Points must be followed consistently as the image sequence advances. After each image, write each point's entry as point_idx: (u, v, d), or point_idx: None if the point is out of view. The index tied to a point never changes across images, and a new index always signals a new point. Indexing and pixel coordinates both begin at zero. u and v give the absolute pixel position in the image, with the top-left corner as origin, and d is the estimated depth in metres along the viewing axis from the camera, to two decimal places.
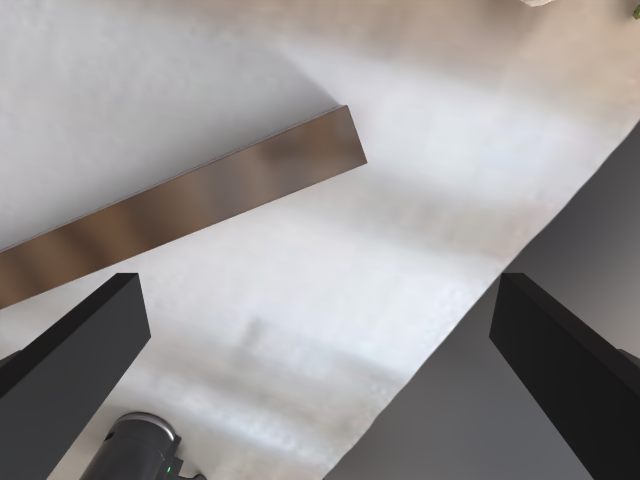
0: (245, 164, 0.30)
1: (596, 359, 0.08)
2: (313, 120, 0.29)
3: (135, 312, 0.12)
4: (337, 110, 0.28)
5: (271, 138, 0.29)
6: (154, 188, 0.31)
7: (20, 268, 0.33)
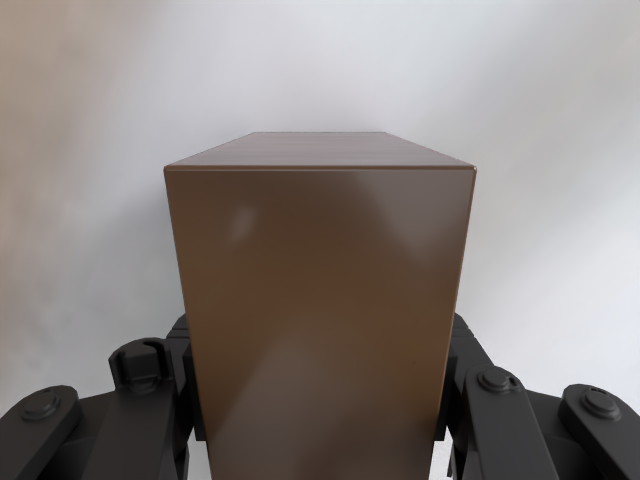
0: None
1: None
2: (191, 326, 0.07)
3: None
4: (175, 220, 0.06)
5: (213, 469, 0.08)
6: None
7: None
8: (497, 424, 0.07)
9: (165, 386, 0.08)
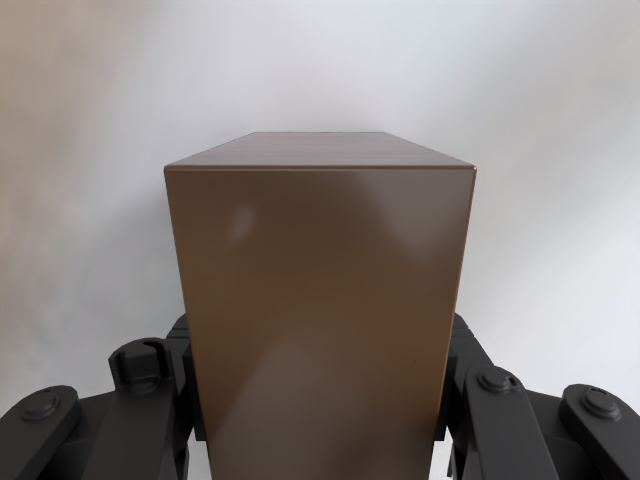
0: None
1: None
2: (191, 326, 0.07)
3: None
4: (175, 219, 0.06)
5: (213, 469, 0.08)
6: None
7: None
8: (497, 424, 0.07)
9: (165, 386, 0.08)
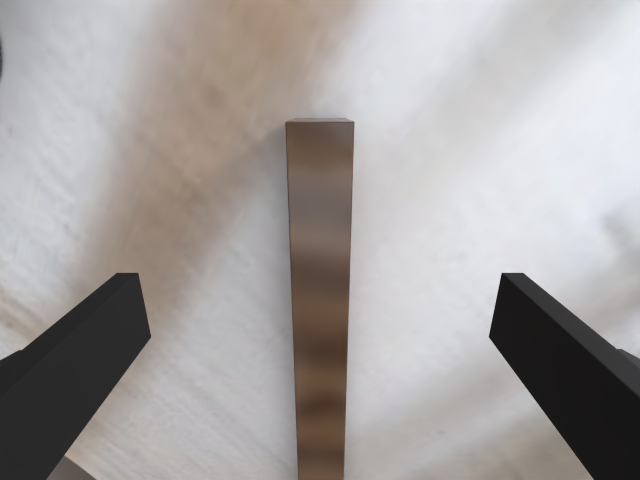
0: (305, 246, 0.29)
1: (596, 359, 0.08)
2: (288, 163, 0.26)
3: (135, 312, 0.12)
4: (287, 134, 0.26)
5: (290, 211, 0.28)
6: (294, 331, 0.32)
7: (316, 457, 0.37)
8: None
9: None
